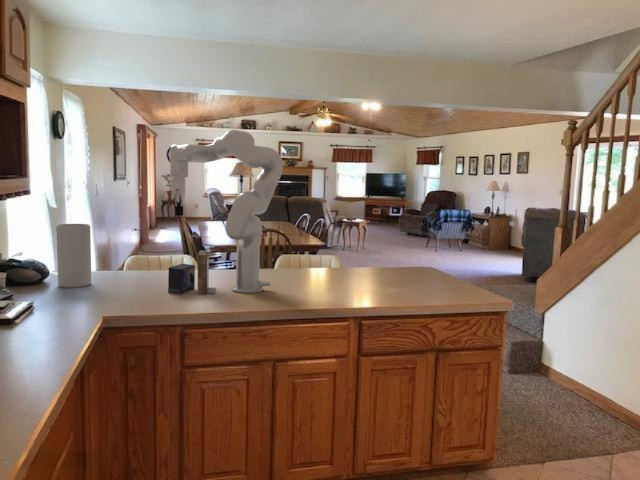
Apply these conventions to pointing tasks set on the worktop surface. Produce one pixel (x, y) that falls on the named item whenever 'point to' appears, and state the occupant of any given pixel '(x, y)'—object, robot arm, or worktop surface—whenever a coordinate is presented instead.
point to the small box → (181, 278)
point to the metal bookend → (207, 289)
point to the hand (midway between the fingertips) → (179, 215)
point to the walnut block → (201, 271)
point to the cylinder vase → (73, 255)
